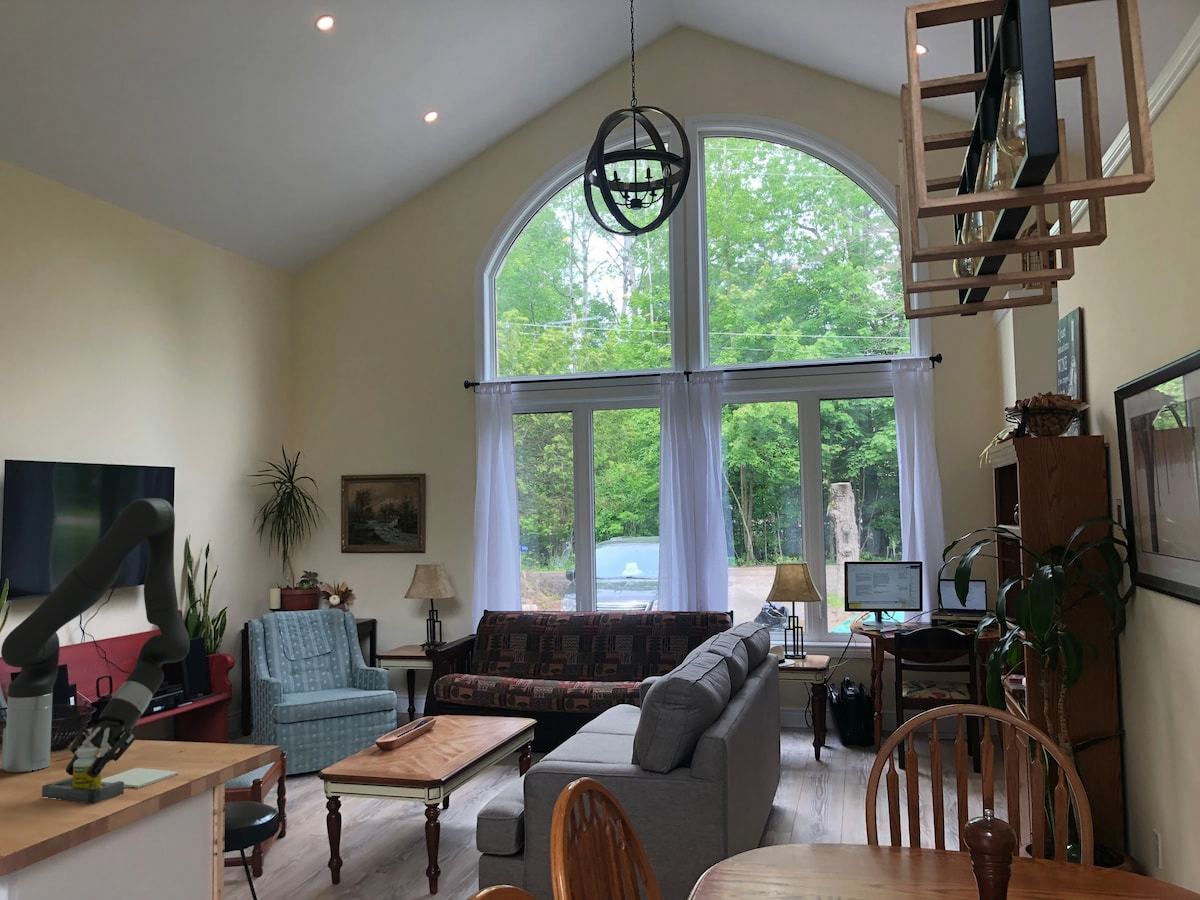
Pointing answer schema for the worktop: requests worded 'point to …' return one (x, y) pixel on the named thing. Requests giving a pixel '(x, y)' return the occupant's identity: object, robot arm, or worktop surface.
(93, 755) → the supplement bottle
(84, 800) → the bracket
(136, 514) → the robot arm
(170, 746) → the worktop surface
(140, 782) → the cream pad
